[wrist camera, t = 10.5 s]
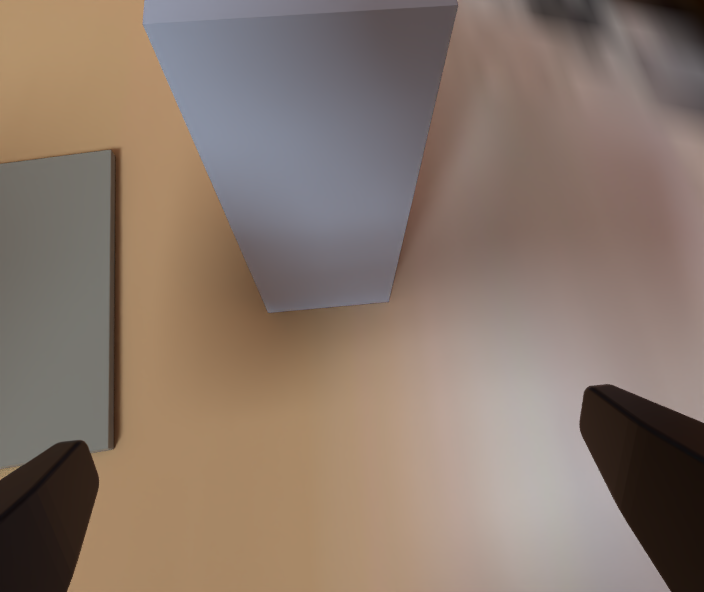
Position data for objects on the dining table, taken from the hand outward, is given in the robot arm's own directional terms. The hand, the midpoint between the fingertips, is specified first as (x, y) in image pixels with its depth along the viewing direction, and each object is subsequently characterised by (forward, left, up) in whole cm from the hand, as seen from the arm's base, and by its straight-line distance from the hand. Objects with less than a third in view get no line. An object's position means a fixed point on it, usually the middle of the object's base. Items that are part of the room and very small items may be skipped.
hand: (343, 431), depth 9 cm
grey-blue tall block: (+8, -1, -8) cm, 11 cm away
